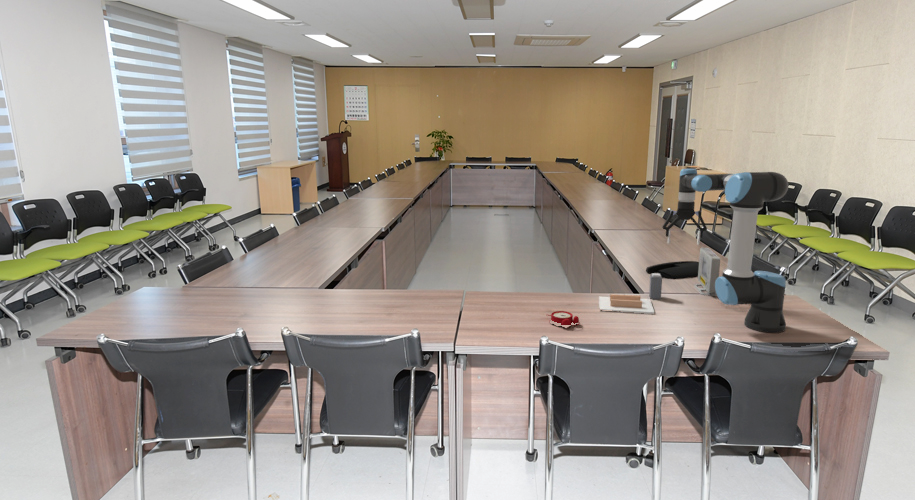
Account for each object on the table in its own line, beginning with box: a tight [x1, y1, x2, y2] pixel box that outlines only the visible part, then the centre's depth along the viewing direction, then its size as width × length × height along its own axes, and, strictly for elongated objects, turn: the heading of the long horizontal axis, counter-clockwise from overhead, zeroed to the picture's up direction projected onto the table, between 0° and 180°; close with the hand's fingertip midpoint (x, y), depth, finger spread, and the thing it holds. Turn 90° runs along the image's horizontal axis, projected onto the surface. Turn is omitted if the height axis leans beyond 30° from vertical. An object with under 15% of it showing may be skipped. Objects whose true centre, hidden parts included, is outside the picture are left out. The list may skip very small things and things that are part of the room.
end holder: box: [598, 293, 655, 315], centre depth 257 cm, size 20×24×4 cm
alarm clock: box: [547, 310, 581, 326], centre depth 235 cm, size 10×6×15 cm
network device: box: [693, 247, 721, 297], centre depth 278 cm, size 26×9×20 cm, turn 168°
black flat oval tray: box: [645, 260, 699, 280], centre depth 316 cm, size 25×41×5 cm, turn 111°
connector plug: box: [648, 273, 663, 300], centre depth 268 cm, size 5×5×12 cm
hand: (683, 243), depth 268 cm, fingers open, 13 cm apart
